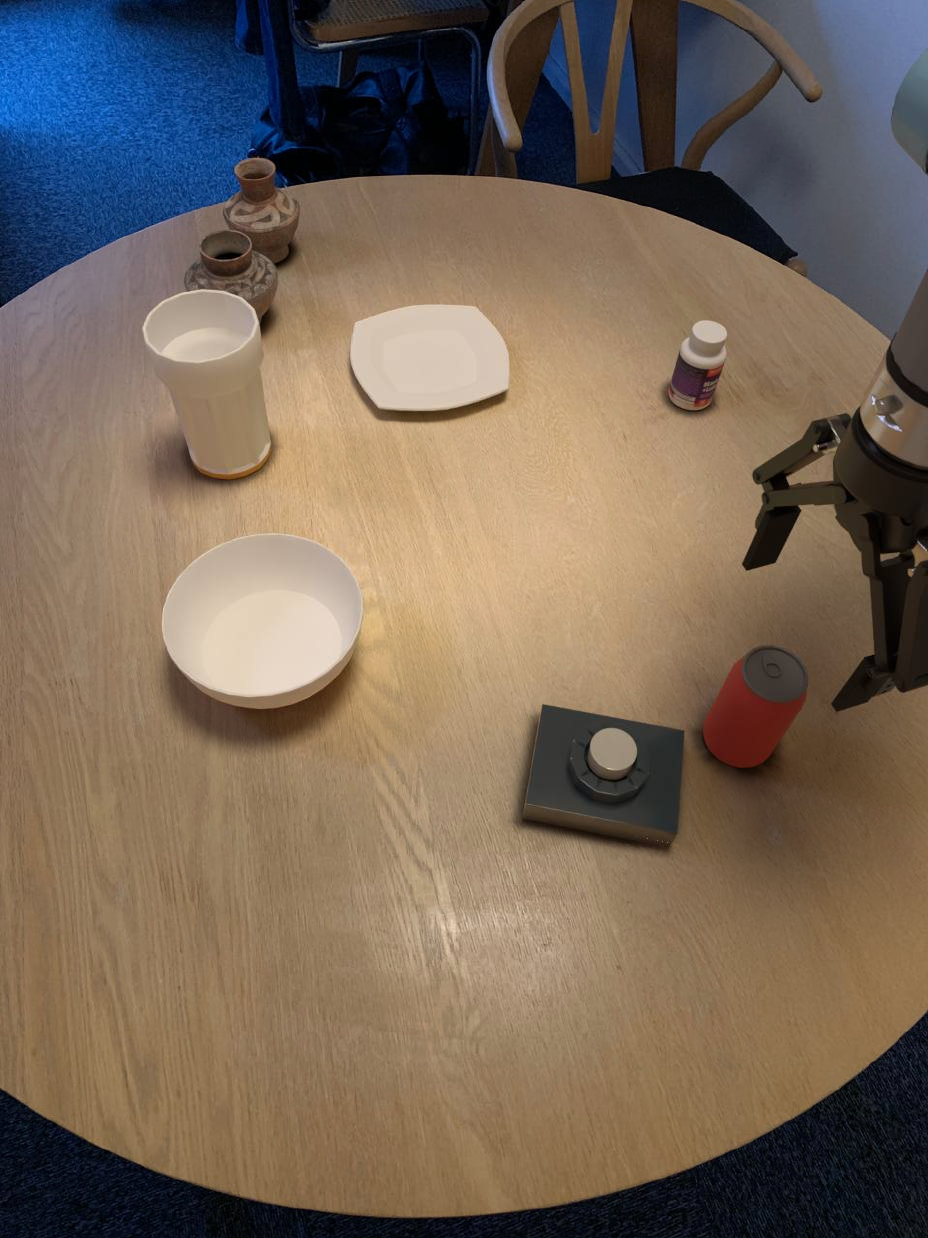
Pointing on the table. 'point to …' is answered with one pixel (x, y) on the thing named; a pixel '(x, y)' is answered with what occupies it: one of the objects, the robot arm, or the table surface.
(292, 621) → the bowl
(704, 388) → the pill bottle
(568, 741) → the beige button cap base
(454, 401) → the plate
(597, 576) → the table surface
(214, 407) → the cup
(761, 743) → the beer can
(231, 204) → the pottery
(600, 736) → the beige button cap
